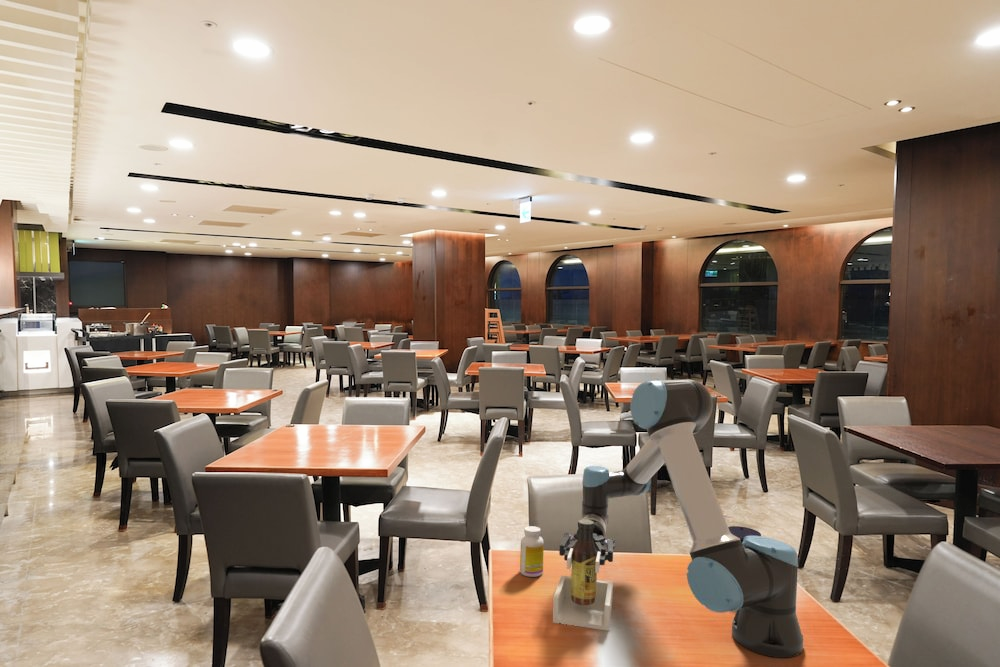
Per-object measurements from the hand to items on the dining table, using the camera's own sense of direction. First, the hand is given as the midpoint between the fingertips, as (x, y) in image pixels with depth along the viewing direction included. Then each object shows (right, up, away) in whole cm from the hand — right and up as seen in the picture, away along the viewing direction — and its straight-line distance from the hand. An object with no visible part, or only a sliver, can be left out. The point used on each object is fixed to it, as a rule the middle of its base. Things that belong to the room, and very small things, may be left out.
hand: (582, 565), depth 144 cm
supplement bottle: (-11, -13, +28) cm, 33 cm away
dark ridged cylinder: (+48, -15, +24) cm, 56 cm away
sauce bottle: (+1, -11, +5) cm, 12 cm away
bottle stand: (+1, -14, +5) cm, 15 cm away
